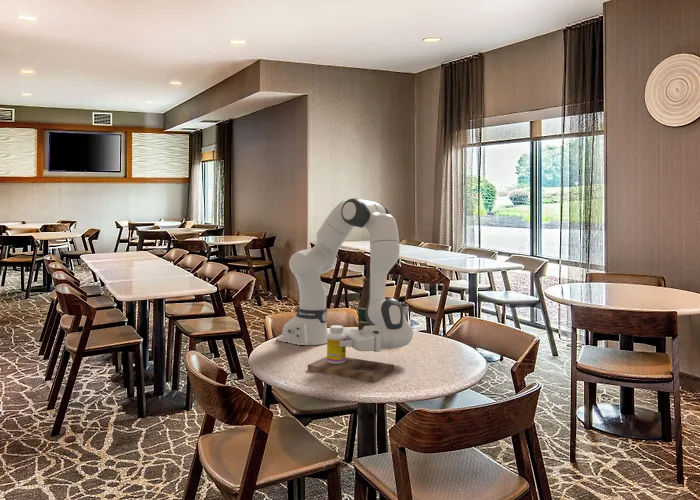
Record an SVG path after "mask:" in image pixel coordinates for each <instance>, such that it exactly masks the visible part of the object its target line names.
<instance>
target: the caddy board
mask: <svg viewBox="0 0 700 500" xmlns="http://www.w3.org/2000/svg"><path fill="white" fill-rule="evenodd" d="M395 368H396V367H395V364H392V363H386V362H380V361H379V362H378V361H371V360H366V359H359V358H354V357H348V356H346V359H345V362H344V363H342V364H331V363H328V362H327V356H325V357H323V358H320V359H318V360H316V361H314V362H311V363H309V364H307V371H308V372H313V373H320V374H324V375H330V376H331V375H332V376H338V377H342V378H348V379H349V378H350V379H355V380H360V381H365V382H371V383H376V382H377V381H379V380H381V379H383V378H384V377H386V376H387V375H389V374H391V373H393V372H395ZM361 369H364V370H365V369H366V370H373V371H376V372H371V371H363V370H361Z"/></svg>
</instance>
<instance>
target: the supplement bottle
mask: <svg viewBox="0 0 700 500" xmlns="http://www.w3.org/2000/svg"><path fill="white" fill-rule="evenodd" d="M343 329H344V326H342V325H340V324H338V325H337V324H335V325H333V324H332V325H330V327H329V331H330V332H328V336H327V343H326V346H327V347H326V357H327V362H328V363H331V364H342V363H344V362H345V359H346V357H347V356H346V352H347V351H346V350H347V347H346V346H342V347H341V346H339V341H341V340H344V341H346V335H345V334H344V333H343Z"/></svg>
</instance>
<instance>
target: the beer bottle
mask: <svg viewBox="0 0 700 500" xmlns="http://www.w3.org/2000/svg"><path fill="white" fill-rule="evenodd" d="M362 282H363V287H362V294H361V297H360V299H359V301H358V309H357V310H358V311H357V329H358V330H362V329H363V327H364V326H370V324H369V323H368V322H367V320H366V317H365V311H366V307H367V304H368V301H369V278H368V277H366V278H363V280H362Z"/></svg>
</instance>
